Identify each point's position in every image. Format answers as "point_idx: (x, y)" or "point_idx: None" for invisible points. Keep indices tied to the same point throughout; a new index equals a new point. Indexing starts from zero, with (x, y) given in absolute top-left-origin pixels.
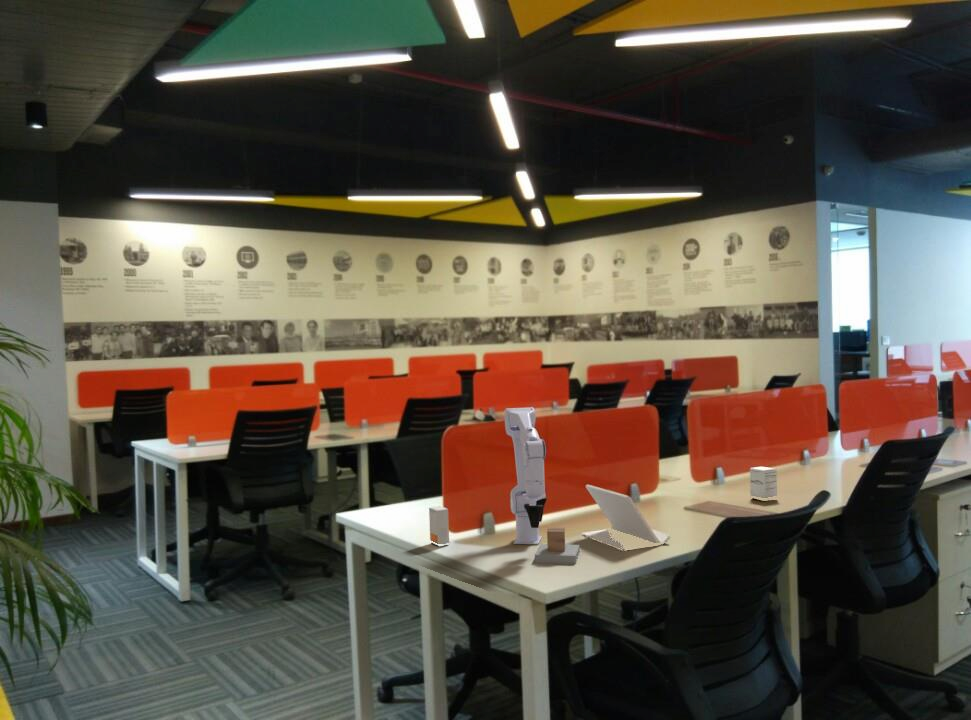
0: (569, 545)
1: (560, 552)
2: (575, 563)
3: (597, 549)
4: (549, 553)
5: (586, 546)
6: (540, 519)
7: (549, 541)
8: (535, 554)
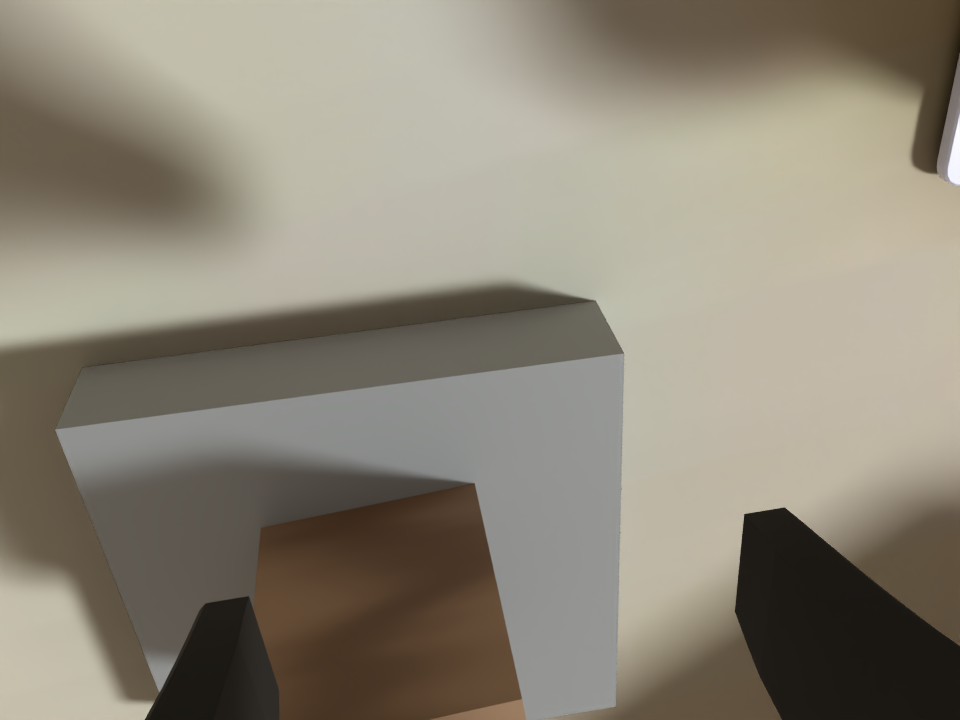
0: (585, 641)
1: None
2: None
3: (721, 717)
4: (184, 564)
5: None
6: (753, 640)
7: None
8: (70, 436)
